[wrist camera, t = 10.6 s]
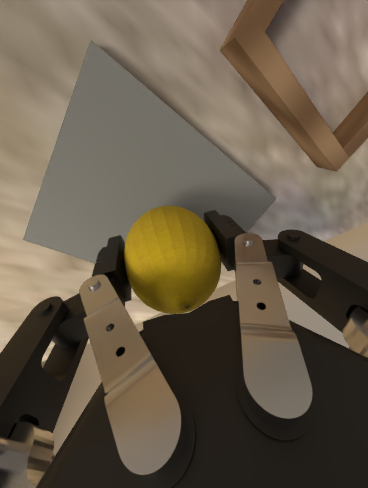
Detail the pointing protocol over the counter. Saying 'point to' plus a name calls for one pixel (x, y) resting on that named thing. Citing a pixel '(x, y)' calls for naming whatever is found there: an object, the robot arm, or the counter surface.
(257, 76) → the walnut collar
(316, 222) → the counter surface
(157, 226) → the lemon
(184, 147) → the grey rectangular plate
